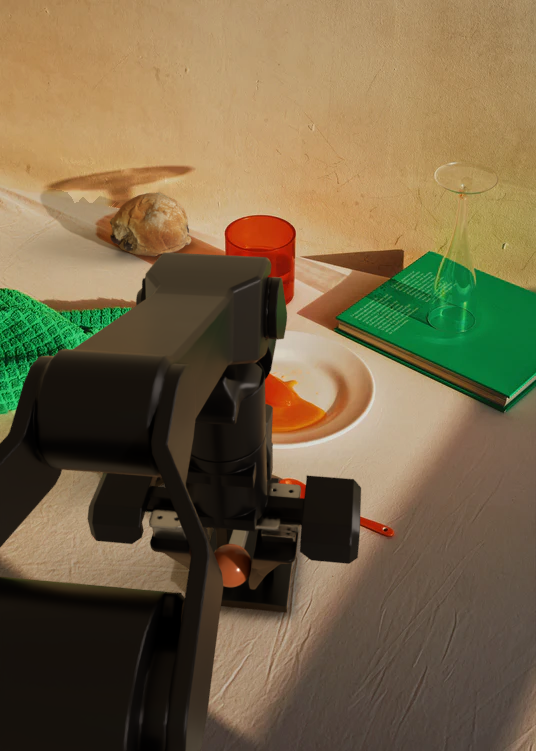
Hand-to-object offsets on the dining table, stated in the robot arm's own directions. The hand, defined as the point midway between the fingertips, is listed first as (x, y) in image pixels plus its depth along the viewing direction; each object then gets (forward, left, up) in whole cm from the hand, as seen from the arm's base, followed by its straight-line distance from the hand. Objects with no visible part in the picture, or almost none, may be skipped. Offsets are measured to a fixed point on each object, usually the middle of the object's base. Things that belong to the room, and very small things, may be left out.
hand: (232, 582), depth 57 cm
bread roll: (+75, +1, -9) cm, 76 cm away
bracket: (+8, -3, -8) cm, 12 cm away
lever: (+3, -1, -1) cm, 4 cm away
